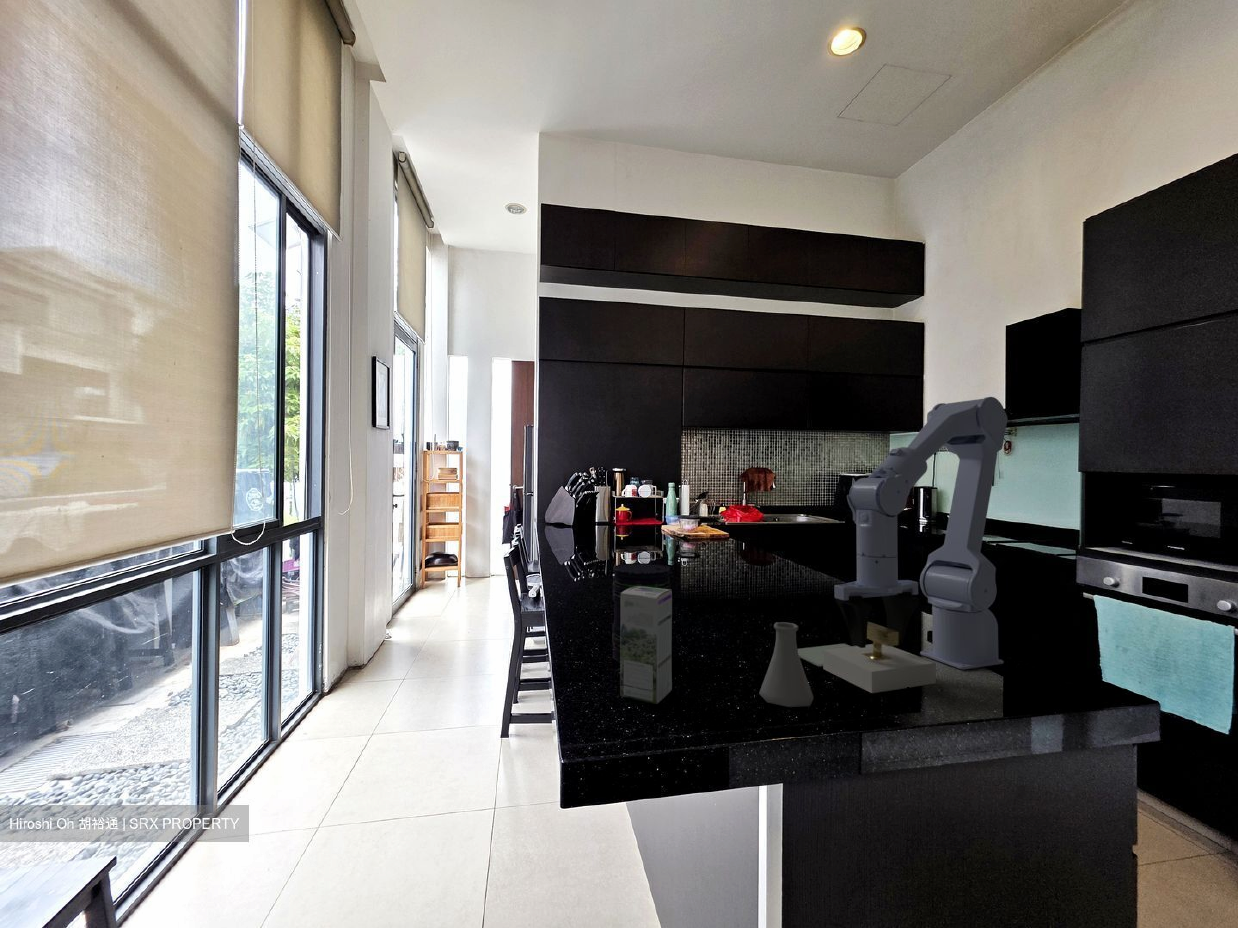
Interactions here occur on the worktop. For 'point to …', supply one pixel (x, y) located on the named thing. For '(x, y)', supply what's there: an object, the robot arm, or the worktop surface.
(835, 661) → the block
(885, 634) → the t key
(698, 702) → the worktop surface
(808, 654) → the mat
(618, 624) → the storage jar
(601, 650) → the worktop surface
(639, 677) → the syrup box
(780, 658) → the flask
